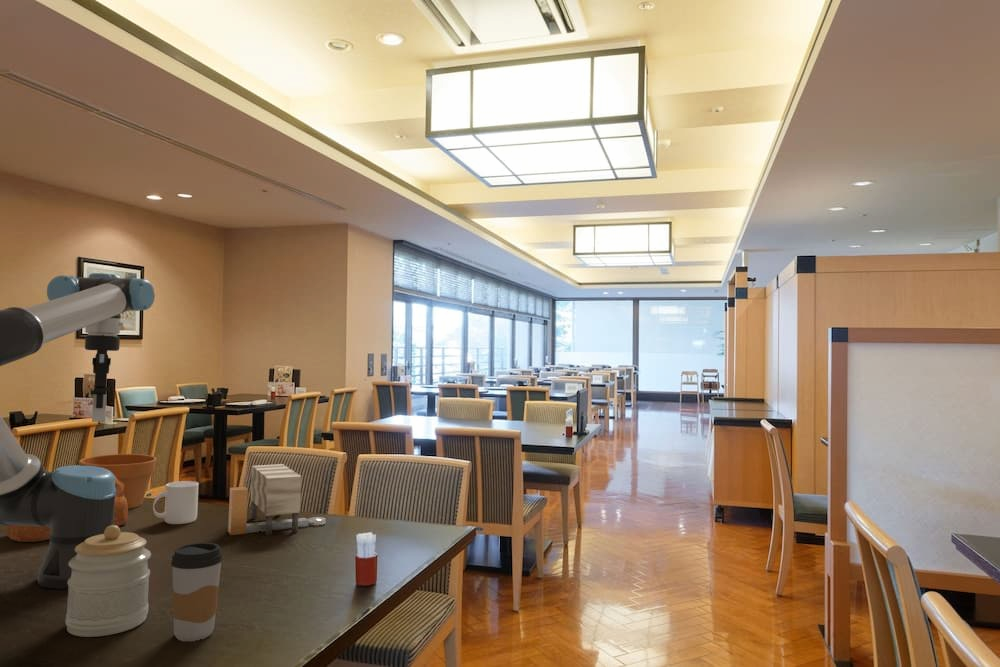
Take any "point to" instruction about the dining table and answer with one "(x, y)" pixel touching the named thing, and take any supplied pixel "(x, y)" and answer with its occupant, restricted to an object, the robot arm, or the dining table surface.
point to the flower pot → (127, 473)
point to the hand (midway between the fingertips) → (98, 419)
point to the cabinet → (275, 493)
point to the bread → (43, 533)
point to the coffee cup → (195, 589)
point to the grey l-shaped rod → (240, 515)
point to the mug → (179, 502)
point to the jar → (108, 584)
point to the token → (316, 521)
